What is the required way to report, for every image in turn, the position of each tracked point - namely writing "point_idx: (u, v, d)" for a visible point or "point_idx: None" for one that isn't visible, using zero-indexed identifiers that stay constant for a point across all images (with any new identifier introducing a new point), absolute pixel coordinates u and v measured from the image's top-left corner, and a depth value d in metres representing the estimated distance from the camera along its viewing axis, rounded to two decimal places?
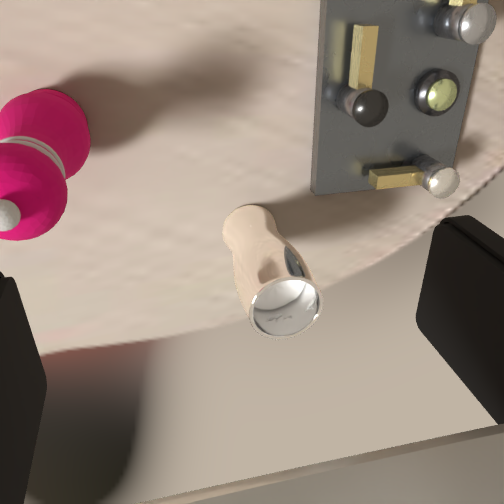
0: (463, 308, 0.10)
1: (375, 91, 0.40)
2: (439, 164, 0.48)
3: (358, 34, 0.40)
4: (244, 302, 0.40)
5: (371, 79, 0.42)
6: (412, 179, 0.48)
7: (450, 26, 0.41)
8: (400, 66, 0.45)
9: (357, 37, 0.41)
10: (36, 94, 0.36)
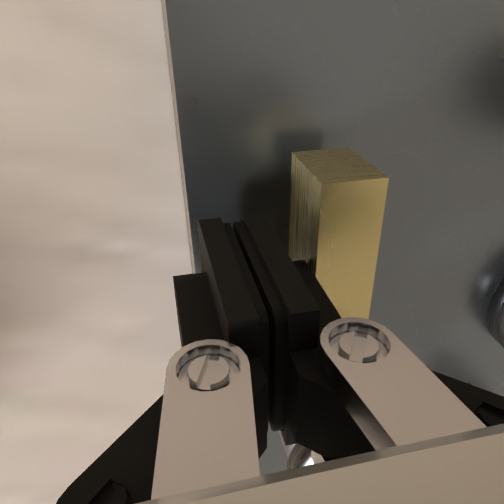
0: None
1: None
2: None
3: (306, 200, 0.10)
4: None
5: None
6: None
7: None
8: (453, 249, 0.14)
9: (305, 210, 0.10)
10: None
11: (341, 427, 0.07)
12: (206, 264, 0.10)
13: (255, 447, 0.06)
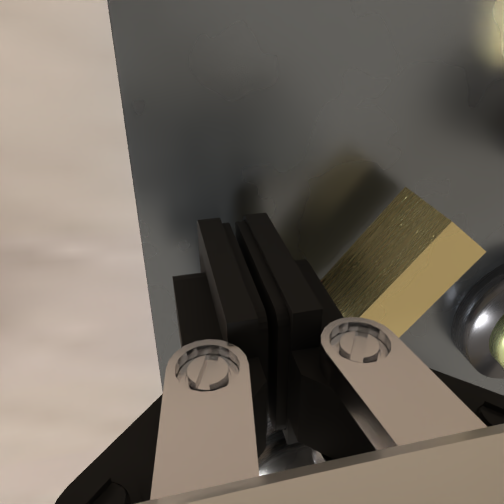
0: None
1: None
2: None
3: (408, 228, 0.11)
4: None
5: None
6: None
7: None
8: None
9: (399, 236, 0.11)
10: None
11: (342, 427, 0.07)
12: (205, 264, 0.10)
13: (253, 447, 0.06)
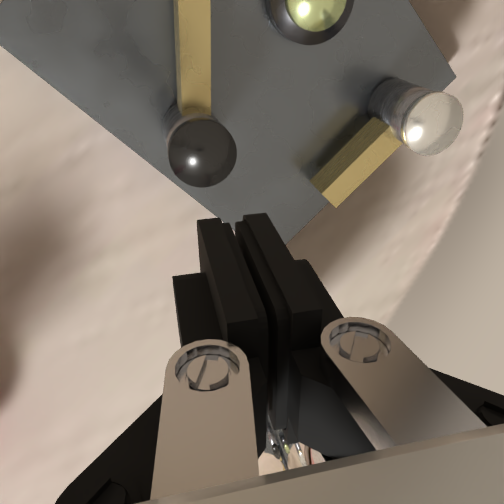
0: None
1: (206, 122, 0.21)
2: (404, 97, 0.24)
3: (176, 11, 0.21)
4: None
5: (209, 98, 0.22)
6: (380, 150, 0.26)
7: None
8: (216, 19, 0.23)
9: (176, 17, 0.21)
10: None
11: (342, 427, 0.07)
12: (205, 264, 0.10)
13: (253, 447, 0.06)
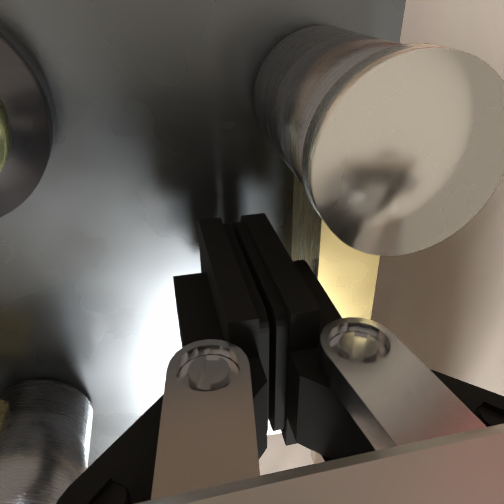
0: None
1: None
2: (290, 136, 0.08)
3: None
4: None
5: None
6: (350, 247, 0.10)
7: None
8: None
9: None
10: None
11: (341, 427, 0.07)
12: (206, 264, 0.10)
13: (255, 447, 0.06)
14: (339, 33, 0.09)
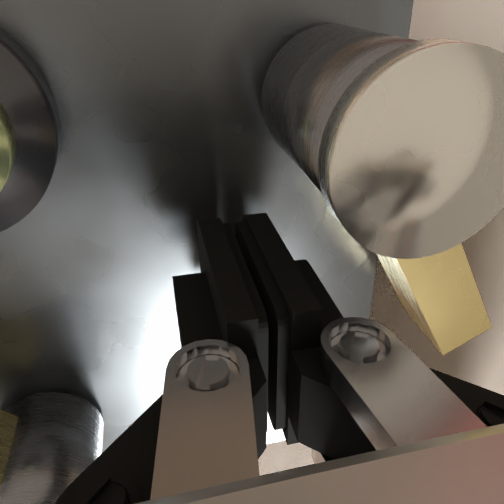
0: None
1: None
2: (310, 176, 0.08)
3: None
4: None
5: None
6: None
7: None
8: None
9: None
10: None
11: (342, 427, 0.07)
12: (205, 264, 0.10)
13: (254, 447, 0.06)
14: (313, 49, 0.09)
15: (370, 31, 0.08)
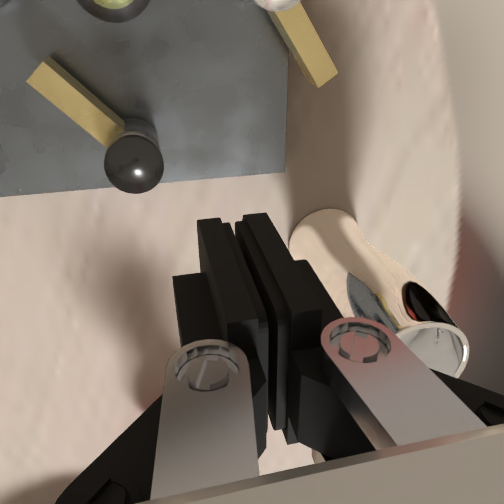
0: None
1: (113, 146, 0.25)
2: None
3: None
4: None
5: (110, 121, 0.26)
6: (294, 19, 0.25)
7: None
8: (76, 58, 0.27)
9: None
10: None
11: (342, 427, 0.07)
12: (205, 264, 0.10)
13: (254, 447, 0.06)
14: None
15: None
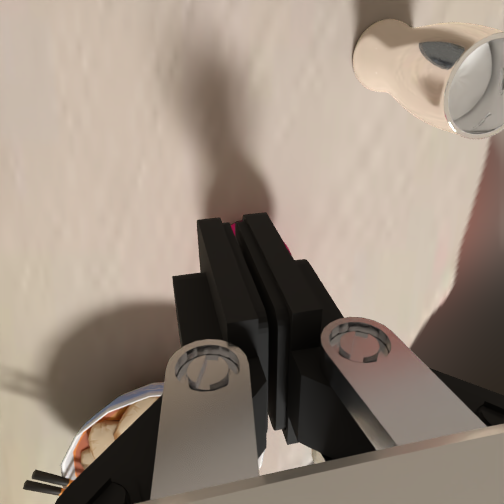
0: None
1: None
2: None
3: None
4: None
5: None
6: None
7: None
8: None
9: None
10: None
11: (342, 427, 0.07)
12: (205, 264, 0.10)
13: (254, 447, 0.06)
14: None
15: None
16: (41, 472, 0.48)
